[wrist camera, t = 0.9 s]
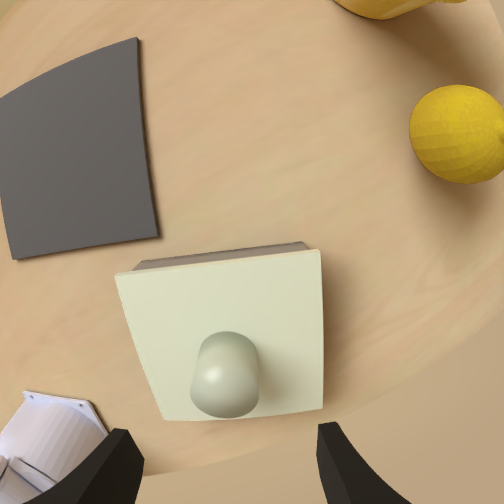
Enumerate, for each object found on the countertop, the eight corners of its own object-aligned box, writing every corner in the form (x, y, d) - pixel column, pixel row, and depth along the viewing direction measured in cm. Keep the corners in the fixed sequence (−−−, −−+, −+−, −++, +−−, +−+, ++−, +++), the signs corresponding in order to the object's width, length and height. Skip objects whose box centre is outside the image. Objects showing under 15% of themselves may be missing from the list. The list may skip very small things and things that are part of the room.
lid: (168, 407, 19) (153, 456, 14) (124, 267, 16) (84, 302, 11) (318, 394, 19) (333, 446, 14) (314, 244, 16) (340, 275, 11)
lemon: (381, 96, 16) (456, 62, 8) (446, 100, 15) (526, 83, 8) (393, 181, 17) (476, 194, 9) (456, 177, 17) (540, 190, 9)
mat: (15, 258, 18) (12, 260, 18) (-2, 101, 15) (-5, 101, 14) (159, 234, 18) (157, 236, 17) (138, 38, 14) (136, 36, 14)
